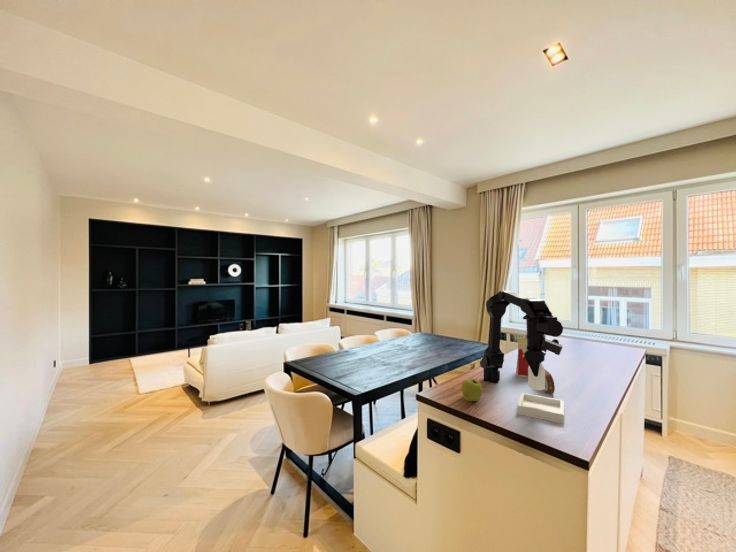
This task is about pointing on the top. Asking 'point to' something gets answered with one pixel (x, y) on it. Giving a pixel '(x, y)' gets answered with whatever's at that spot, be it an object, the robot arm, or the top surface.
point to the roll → (536, 379)
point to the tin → (549, 383)
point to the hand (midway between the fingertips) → (536, 374)
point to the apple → (471, 390)
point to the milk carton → (522, 357)
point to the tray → (541, 407)
